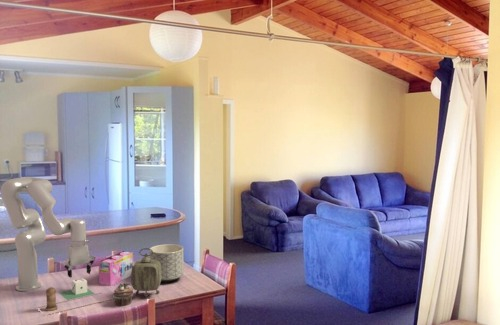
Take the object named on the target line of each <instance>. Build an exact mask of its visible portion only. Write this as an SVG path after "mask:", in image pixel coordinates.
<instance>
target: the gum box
mask: <svg viewBox="0 0 500 325" xmlns="http://www.w3.org/2000/svg"><path fill="white" fill-rule="evenodd" d="M133 265H134V252H132V251H131V252H129V251H125V250H122V251H119V252H117V253H115V254H114V253H113V255H111V256H108V257H105V258H103V259H101V260H99V261H98V282H99V283H98V285H102V286H109V287H111V286H114V285H115V284H118V283H119V282H122V281H124V280H126V279H127V278H129V277H131V272H132V267H133Z"/></svg>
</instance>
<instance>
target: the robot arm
mask: <svg viewBox="0 0 500 325" xmlns="http://www.w3.org/2000/svg"><path fill="white" fill-rule="evenodd" d="M52 191H53V184H52V183H51V181H50V180H48V179H46V178H38V177H33V176H24V177H23V176H22V177H15V178H11V179H8V180H6V181H5V182H4V183H2V185H1V187H0V196H1V199H2V201H3V203H4V205H5V207H6V211H7V213H8V214H7V215H8V217H9V219H10V222H11V225H12V227H13V228H14V229H16V230H21V229H24V230H22V231H20V232H18V233H17V234H16V235H15V237H14V244H15V248H16V255H17V275H18V276H17V277H18V284H17V285H16V286H15V290H16V291H18V292H29V291H34V290H38V289H39V288H41V287H42V282H39V279H38V276H39V275H38V255H37V250H36V249H35V246H37V245H39V244H42V243H44V242H45V241H46V238H47V232H46V229H45V227H46V228H47V229H48V230H49V231H50V232H51V234H53V235H54V236H62V235H64V234H68V233H70V246H69V247H68V251H67V252H68V254H67V258H66V259H65V260H63V261H62V262H61V264H62V265H63V267H64V268H65V269H66V270H67V271H66V272H67V277H69V278H70V279H71V278H72V277H73V275H72V274H73V272H72V271H73V270H72V269H73V267H76V266H82V265H86V273H87V274H89V275H91V271H92V269H91V268H92V266H93V264H94V262H95V260H96V256H94V255H91V254H90V251H89V245H88V244H87V243H89V242H90V240H89V239H87V232H86V229H87V228H86V227H87V226H86V223H87V222H86V221H85V219H81V218H79V219H78V218H73V217H65V218H62V219H59V220H58V217H56V216H55V214H54V211H53V210H54V209H53V208H54V206H55V205H57V204H56V203H57V201H56V199H55V197H53V195H52V193H51V192H52ZM25 193H27V194H28V195H29V197H30V198H31V199H32V200H33V201H34V203H35V204H36V205H37V206H38V207H39V209H40V211H41V215H40V213H39V212H38V211H37V210H36V209H34V208H26V207H25V204H24V201H23V200H22V198H20V197H19V196H18V195H19V194H25ZM41 217H42V218H41ZM44 225H45V226H44ZM25 228H27V229H25ZM90 259H91V260H90Z"/></svg>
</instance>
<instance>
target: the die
mask: <svg viewBox="0 0 500 325" xmlns="http://www.w3.org/2000/svg"><path fill="white" fill-rule="evenodd" d="M87 288H88V280H86V279H85V278H84V277H82V278H76V279H72V280H71V290H72V292H73V293H75V294H76V295H77V294H81V293H85V292H87Z"/></svg>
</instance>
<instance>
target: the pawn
mask: <svg viewBox="0 0 500 325" xmlns="http://www.w3.org/2000/svg"><path fill="white" fill-rule="evenodd" d="M56 293H57V290H56V288H55V287H49V288H47V289H46V291H45V295H46V296H45V297H46V305H47V306H46V305H45V311H46V312H54V311H57V310H58V305H57V304H56V303H57V300H56V296H57V295H56Z"/></svg>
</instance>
